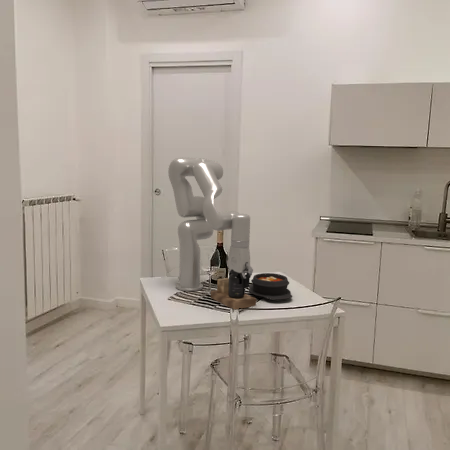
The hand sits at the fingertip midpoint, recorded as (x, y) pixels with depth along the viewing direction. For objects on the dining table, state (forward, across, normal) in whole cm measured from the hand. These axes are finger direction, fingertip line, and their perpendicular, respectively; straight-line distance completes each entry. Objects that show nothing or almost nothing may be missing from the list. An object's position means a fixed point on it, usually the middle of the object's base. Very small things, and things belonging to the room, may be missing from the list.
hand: (238, 284), depth 194 cm
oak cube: (+6, -10, 0) cm, 11 cm away
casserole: (+9, -4, +20) cm, 22 cm away
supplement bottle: (+6, -1, 0) cm, 6 cm away
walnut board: (+8, -4, 0) cm, 9 cm away
